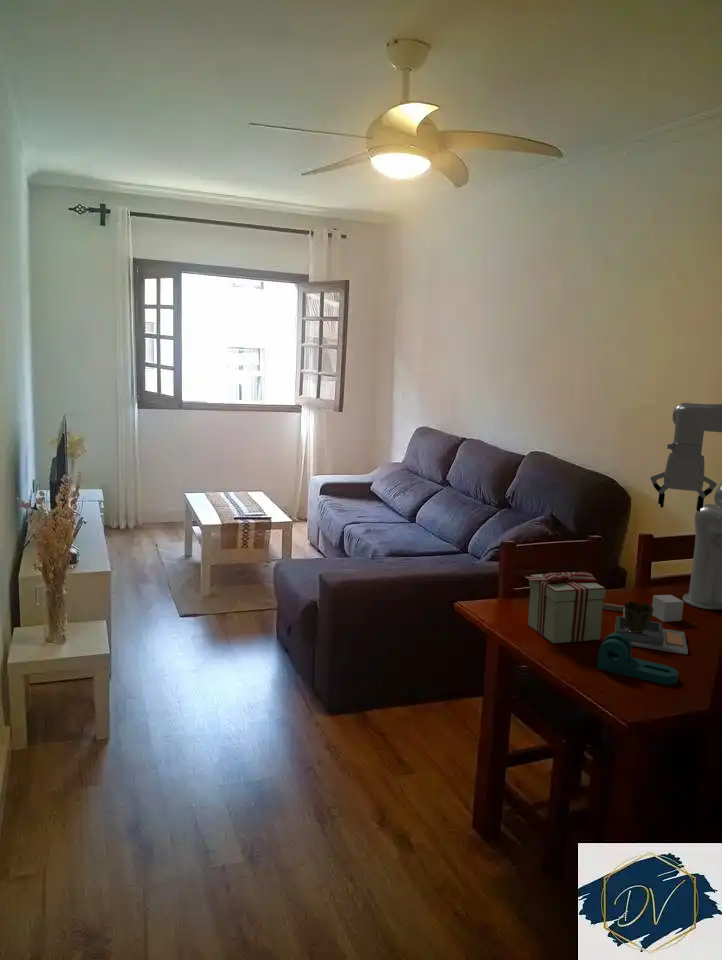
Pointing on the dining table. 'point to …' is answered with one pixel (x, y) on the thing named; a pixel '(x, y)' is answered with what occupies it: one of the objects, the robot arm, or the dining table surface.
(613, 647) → the bracket
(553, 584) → the gift box
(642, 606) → the cup
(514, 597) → the dining table surface
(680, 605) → the white cube
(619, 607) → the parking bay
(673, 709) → the dining table surface
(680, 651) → the grey flat rectangular tray
